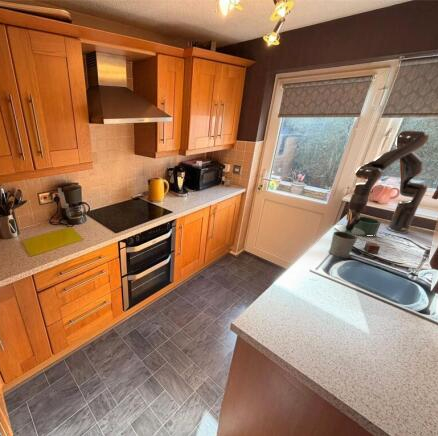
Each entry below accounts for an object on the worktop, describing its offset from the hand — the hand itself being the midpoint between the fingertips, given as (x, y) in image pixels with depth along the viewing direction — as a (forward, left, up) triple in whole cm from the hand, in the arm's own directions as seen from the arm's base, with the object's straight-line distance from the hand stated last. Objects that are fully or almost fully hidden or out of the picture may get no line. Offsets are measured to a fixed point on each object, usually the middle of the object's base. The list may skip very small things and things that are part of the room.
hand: (349, 228), depth 140 cm
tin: (-22, +16, -10) cm, 29 cm away
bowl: (0, 0, -1) cm, 1 cm away
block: (+8, +10, -10) cm, 16 cm away
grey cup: (+19, -8, -10) cm, 23 cm away
